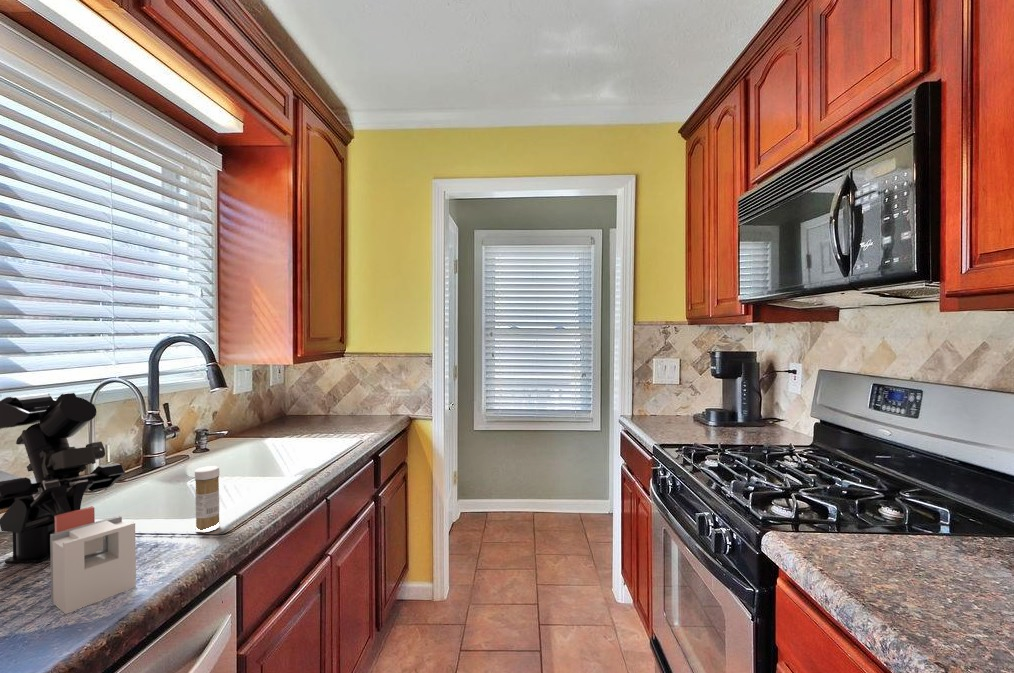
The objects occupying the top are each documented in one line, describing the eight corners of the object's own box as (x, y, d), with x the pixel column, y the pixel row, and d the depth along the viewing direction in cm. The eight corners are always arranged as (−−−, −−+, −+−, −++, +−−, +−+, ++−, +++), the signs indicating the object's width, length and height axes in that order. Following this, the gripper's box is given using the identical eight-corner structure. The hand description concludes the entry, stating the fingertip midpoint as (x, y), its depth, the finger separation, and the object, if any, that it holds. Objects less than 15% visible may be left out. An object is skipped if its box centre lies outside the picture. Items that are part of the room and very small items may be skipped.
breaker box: (51, 601, 75) (50, 534, 75) (119, 576, 83) (119, 515, 83) (65, 614, 72) (64, 543, 72) (135, 586, 80) (135, 523, 80)
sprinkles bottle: (218, 523, 106) (217, 463, 106) (221, 530, 102) (221, 468, 102) (193, 529, 103) (193, 467, 103) (196, 536, 99) (195, 472, 99)
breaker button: (55, 554, 80) (54, 515, 80) (92, 542, 84) (92, 506, 84) (72, 566, 76) (72, 525, 76) (111, 553, 80) (111, 515, 80)
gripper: (5, 434, 79) (31, 518, 75) (128, 423, 96) (154, 491, 92) (-28, 469, 82) (-5, 553, 77) (97, 452, 99) (121, 520, 95)
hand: (74, 526), depth 85 cm, fingers closed
